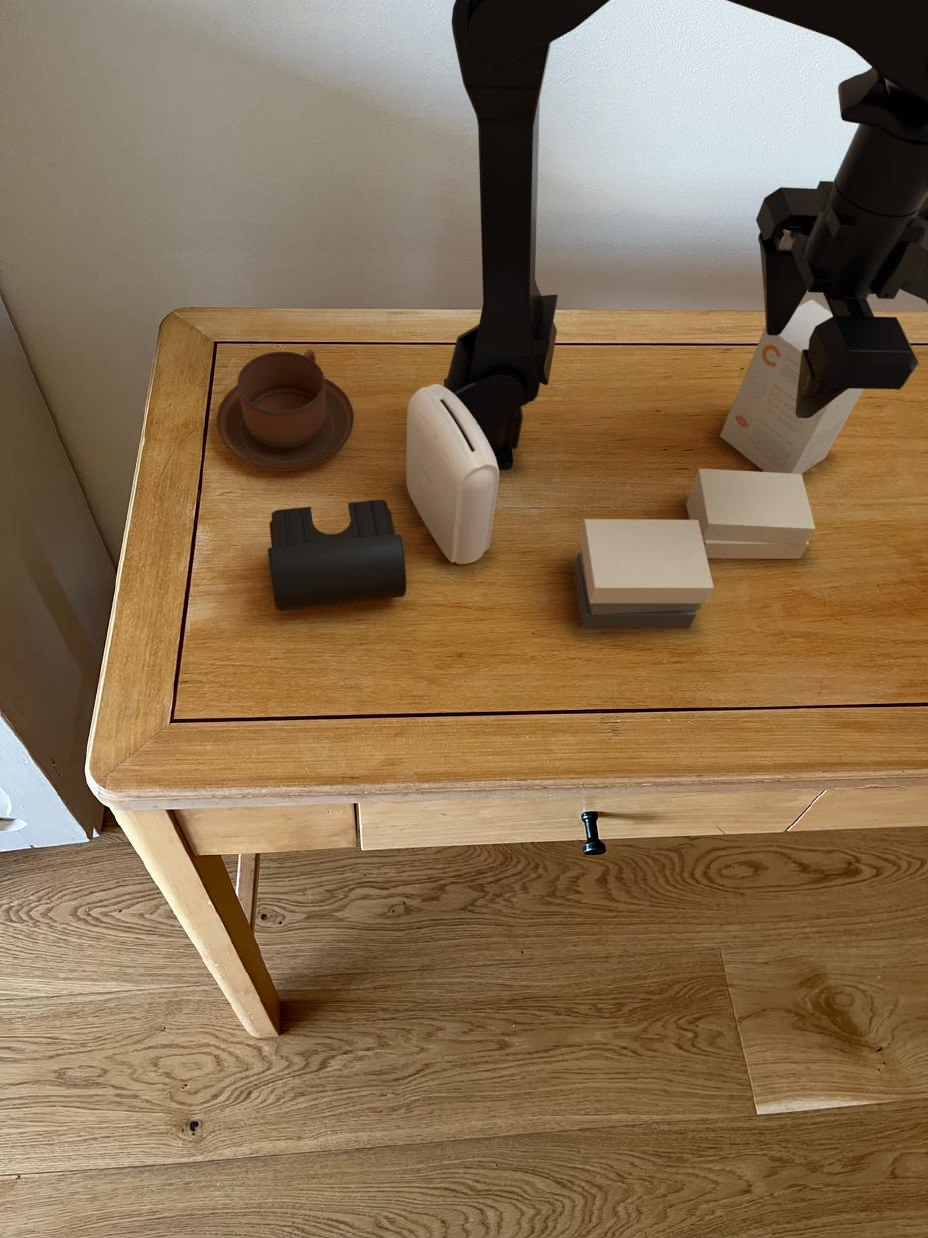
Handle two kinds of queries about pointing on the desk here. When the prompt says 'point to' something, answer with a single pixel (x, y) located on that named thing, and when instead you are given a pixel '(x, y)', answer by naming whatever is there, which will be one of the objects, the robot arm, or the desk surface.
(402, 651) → the desk surface
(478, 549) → the photo printer
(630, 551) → the white book
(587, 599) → the grey books
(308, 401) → the cup and saucer
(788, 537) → the white books
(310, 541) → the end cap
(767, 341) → the small box
